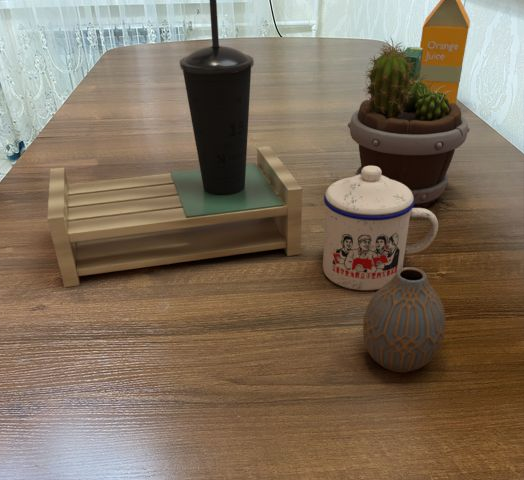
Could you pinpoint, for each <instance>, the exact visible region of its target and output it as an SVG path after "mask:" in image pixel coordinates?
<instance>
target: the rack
mask: <svg viewBox="0 0 524 480" xmlns="http://www.w3.org/2000/svg"><path fill="white" fill-rule="evenodd" d="M67 178H68V177H67V173H66V168H65V167H56V168H50V169H49V184H48V185H49V187H48V202H47V216H46V217H47V218H46V219H47V223H48V228H49V231H50V235H51V241H52V244H53V247H54V248H53V249H54V252H55V256H56V259H57V264H58V267H59V270H60V276H61V279H62V282H63V287H64V288H69V287H75V286H80V277H82V276H89V275H98V274H104V273H105V274H106V273H112V272H113V273H114V272H120V271H128V270H134V269H140V268H141V269H142V268H149V267H156V266H163V265H170V264H177V263H178V264H179V263H185V262H192V261H193V262H194V261H200V260H208V259H214V258H221V257H229V256H236V255H243V254H250V253H258V252H265V251H273V250H280V249H283V251H284V253H285V254H286V256H287V257H291V256H297V255H298V256H299V255H301V253H302V215H303V214H302V213H303V208H302V207H303V188H302V186H301V185H300V184H299V183H298V181H297V180H296V178H294V176H293V175H292V173H291V172H290V171H289V170H288V168H287V167H286V166H285V165H284V163H283V162H282V161H281V159H280V158H279V156H277V154H276V153H275V152H274V150H273V149H272V148H271V147H270V146H269V145H268V146H259V147H258V146H257V147H256V162H253V163H246V175H245V187H244V189H243V190H242V191H240V192H238V193H235V194H230V195H215V194H211V193H208V192H206V191H205V190H204V188H203V182H202V176H201V171H200V168H199V169H198V168H197V169H189V170H180V171H172V172H171V171H170V173H161V174H153V175H143V176H134V177H133V176H132V177H124V178H123V177H122V178H114V179H106V180H97V181H89V182H79V183H69V182H68V179H67Z"/></svg>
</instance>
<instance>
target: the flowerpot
mask: <svg viewBox="0 0 524 480" xmlns="http://www.w3.org/2000/svg"><path fill="white" fill-rule="evenodd" d="M389 38H390V40H391V44H390V43H389V41H388V40H387V39H384V41H385V42H386V43H387V45H385V44H382V45H381V46H382V47H380V51H382V52H379V55H380V56H378V57H377V56H376V54H377V52H376V53H374V55H373V58H372V57H370V59H369V61H370V62H369V64H373V65H372V66H371V67H370V68H369V67H368V66H367V65H366V66H365V67H366V69H367V70H366V72H365V74H362V75H363V77H364V76H365V78H364V80H365V81H364V83H365V87H364V88H363V89H362V91H363V92H365V94H366V95H365V96H366V97H365V98H366V99H365V100H363V101H362V102H361V103H360V105H359V109H358V110H356V111H355V112H354V113H353V114H352V115H351V118H350V121H349V122H348V123H347V127H348V129H349V134H350V137H351V139H352V140H353V142H355V143H357V144H358V152H359V153H358V154H359V160H360V167H358V168H357V170H356V173H355V176H356V175H359V174H361V170H362V169H363V168H364V167H366V166H377V167H379V168H380V169H381V171H382V173H381V175H383V176H385V177H387V178H389V179H392V180H395V181H398V182H400V183H402V184H404V185H405V186H407V187H408V188H409V189H410V190H411V192H412V194H413V198H414V206H413V208H423V209H426V208H427V207H429V206H430V205H431V204H434V203H435V202H436V201H437V199H438V198H439V197H440V196H441V195H442V194H443V193H444V191H445V189H446V188H447V186H448V185H449V176H448V174H447V172H448V170H449V168H450V165H451V163H452V161H453V157H454V154H455V151H456V149H458V148H460V147H461V146H462V145H463V144H464V143H465V142H466V139H467V137H468V133H469V132H470V127H469V123H468V121H467V119H466V118H465V117H464V116H463V115H462V111H461V108H460V107H459V105H458V104H457V103H456V104H455V103H449V101H448V100H449V98H450V96H449V98H448V99H447V98H446V97H445V96H446V93H447V92H449V91H447V92H446V93H445V92H444V93H438V92H437V90H439V89H440V88H441V87H440V88H439V89H437V88H436V89H435V90H434V91H433V92H432V88H431V91H430V87H429V86H427V85H426V84H425V83H423V82H421V80H423V79H426V78H423V77H424V76H426V75H424V76H423V77H422V78H421V77H420V78H421V79H420V78H419V77H418V76H417V77H416V76H415V75H414V76H415V79H414V80H415V81H413V78H412V77H414V76H410V78H411V80H410V79H409V72H410V71H412V70H415V68H414V67H413V66H412V65H413V63H415V62H413V63H410V64H412V65H410V64H409V62H408V60H411V59H408V60H407V59H404V58H406V57H407V56H408V55H407V56H406V55H405V57H404V58H403V56H404V54H406V53H403V52H404V51H405V50H406V47H403V49H402V45H401V44H402V43H403V42H402V41H401V42H399V43H397V44H396V46H394V41H393V39H392V37H391V36H389ZM400 47H401V48H400ZM402 53H403V54H402ZM409 55H410V54H409ZM408 58H409V57H408ZM406 60H407V61H406ZM410 66H411V67H413V68H411V67H410ZM417 70H418V69H417ZM412 72H413V71H412ZM418 73H419V72H418ZM413 74H414V73H413ZM415 74H416V73H415ZM410 75H411V74H410ZM417 75H419V74H417ZM417 78H419V81H417ZM368 79H369V80H368ZM367 82H368V83H369V84H368V83H367ZM428 82H429V81H428ZM433 83H434V82H433ZM433 83H432V84H433ZM432 84H431V85H432ZM431 85H430V86H431ZM432 87H433V86H432ZM442 87H443V86H442ZM434 88H435V87H434ZM369 95H370V96H369ZM368 98H369V99H368Z"/></svg>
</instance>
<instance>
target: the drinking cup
mask: <svg viewBox="0 0 524 480" xmlns="http://www.w3.org/2000/svg"><path fill="white" fill-rule="evenodd" d="M217 2H218V1H217V0H209V12H210V13H209V15H210V30H211V32H210V33H211V45H210V46H206V47H202V48H198V49H196V50H194V51H192V52H191V53H190V54H188V55H187V56H184V57H182V58H181V59H180V60H179V62H178V65H179V68H180V70H182V74H183V79H184V85H185V90H186V96H187V103H188V107H189V108H188V109H189V113H190V120H191V124H192V131H193V136H194V141H195V142H194V143H195V147H196V153H197V158H198V166H199V169H200V171H201V176H202V182H203V188H204V190H205V191H206V192H208V193H211V194H215V195H230V194H235V193H238V192H240V191H242V190H243V189H244V187H245V175H246V164H247V154H248V134H249V116H250V95H251V78H252V77H251V76H252V68H253V67H254V65H255V60H254V57H252V56H251V55H249V54H246V53H244V52H242V51H240V50H238V49H236V48H233V47H230V46H226V45H225V46H224V45H220V40H219V23H218V21H219V20H218V19H219V18H218V5H217Z"/></svg>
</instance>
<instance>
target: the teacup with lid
mask: <svg viewBox="0 0 524 480" xmlns="http://www.w3.org/2000/svg"><path fill="white" fill-rule="evenodd" d="M381 173H382V171H381V169H380V168H379V167H377V166H366V167H364V168H363V169H362V170H361V174H359V175H356V174H355V175H353V176H350V177H345V178H341V179H339V180H336V181H334V182H333V183H332V184H330V185H329V186H328V188H327V189H326V190H325V194H324V196H323V202H324V204H325V213H324V214H325V216H324V233H323V234H324V236H323V238H324V239H323V255H322V257H323V258H322V271H323V274H324V275H325V276H326V277H327V279H328V280H330V281H331V282H332V283H334V284H336V285H338V286H340V287H342V288H346V289H350V290H356V291H375V290H376V291H378V290H379V289H380V288H382V287H383V286H384V285H385V284H386V283H388V282H389V281H390V280H391V279H392V278H393V277H394V276H395V274H396V272H397V271H398V270H399V269H401V268H404V260H405V255H412V254H413V255H414V254H417V253H420V252H422V251H425V250H426V249H427V248H428V247H429V246H430V245H432V243H433V242H434V240H435V239H436V236H437V235H438V234H437V233H438V231H439V222H438V218H437V216H436V215H435V214H434V212H432V211H431V210H429V209H427V208H413V206H414V198H413V194H412V192H411V190H410V189H409V188H408V187H407V186H405V185H404V184H402V183H400V182H398V181H395V180H392V179H389V178H387V177H385V176H383V175H381ZM410 218H423V219H426V220H427V221H428V222H430V227H429V229H428V231H427V233H426V234H425V236H424V237H423V238H422V239H421V240H419V241H417V242H416V243H412V244H407V239H408V233H409V227H410V226H409V225H410Z"/></svg>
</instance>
